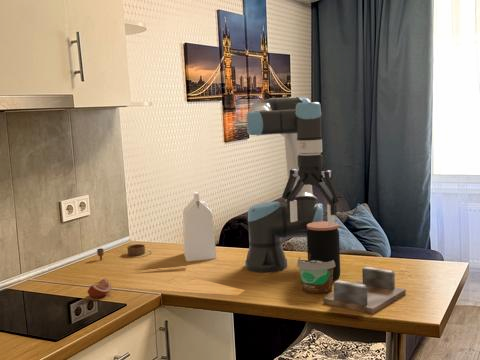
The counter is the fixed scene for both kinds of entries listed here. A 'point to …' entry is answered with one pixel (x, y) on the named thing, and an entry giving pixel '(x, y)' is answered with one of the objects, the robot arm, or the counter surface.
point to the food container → (316, 276)
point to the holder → (366, 291)
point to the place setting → (132, 251)
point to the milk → (198, 231)
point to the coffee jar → (324, 244)
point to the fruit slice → (99, 288)
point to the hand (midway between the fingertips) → (312, 223)
